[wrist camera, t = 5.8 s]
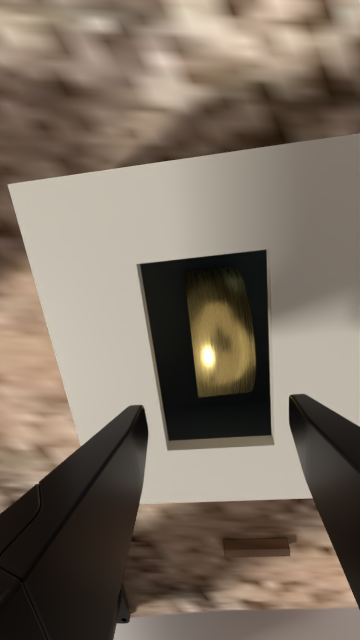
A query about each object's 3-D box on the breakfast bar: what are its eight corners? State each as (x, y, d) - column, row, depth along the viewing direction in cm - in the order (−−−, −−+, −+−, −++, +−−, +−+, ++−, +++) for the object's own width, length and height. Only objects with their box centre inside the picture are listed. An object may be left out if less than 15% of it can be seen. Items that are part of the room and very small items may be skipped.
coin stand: (287, 545, 24) (289, 556, 23) (223, 546, 25) (224, 557, 24) (286, 460, 21) (289, 469, 21) (215, 463, 22) (215, 472, 21)
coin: (233, 355, 19) (257, 420, 13) (193, 359, 19) (201, 425, 13) (226, 256, 16) (253, 283, 11) (182, 262, 17) (186, 291, 11)
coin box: (309, 401, 20) (364, 496, 13) (129, 413, 21) (97, 505, 14) (314, 163, 15) (402, 127, 9) (84, 195, 16) (7, 184, 10)
